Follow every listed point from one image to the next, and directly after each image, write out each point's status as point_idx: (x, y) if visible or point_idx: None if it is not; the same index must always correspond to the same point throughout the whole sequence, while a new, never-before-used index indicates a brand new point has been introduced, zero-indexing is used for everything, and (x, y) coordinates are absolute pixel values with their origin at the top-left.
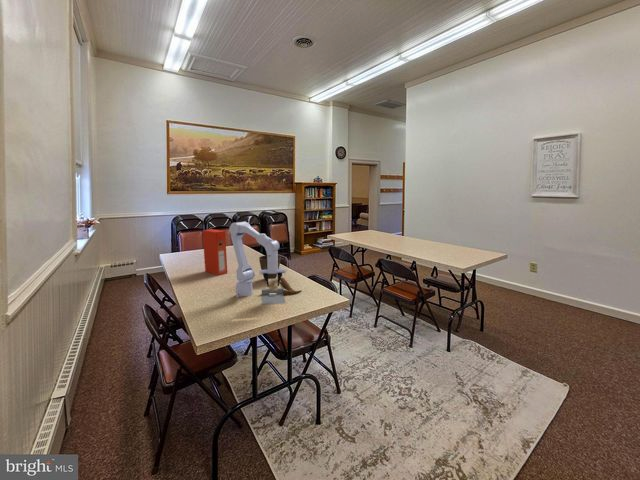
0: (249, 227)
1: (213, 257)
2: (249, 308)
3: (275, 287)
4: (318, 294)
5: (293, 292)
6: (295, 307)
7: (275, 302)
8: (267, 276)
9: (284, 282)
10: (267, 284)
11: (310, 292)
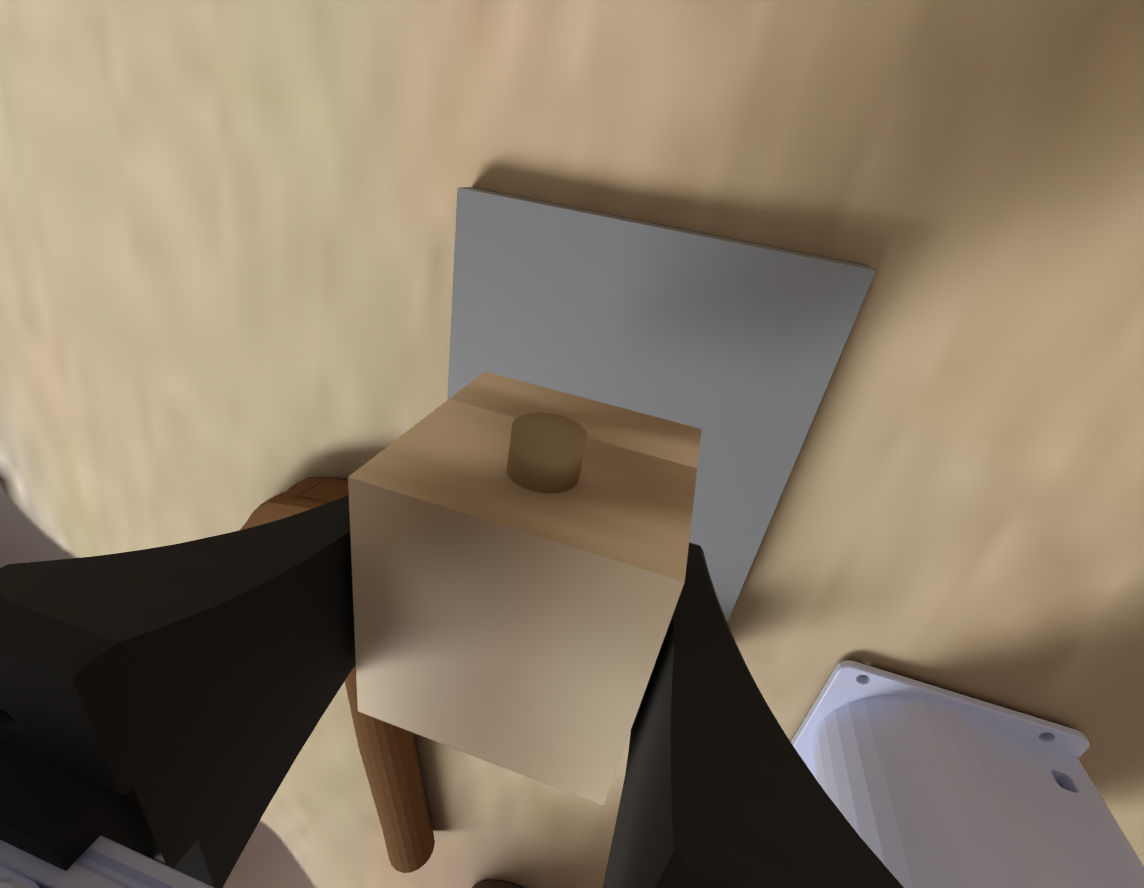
0: None
1: None
2: (1140, 256)
3: (510, 409)
4: (86, 399)
5: (312, 499)
6: (336, 9)
7: (609, 289)
8: (708, 850)
9: (391, 779)
10: (699, 580)
11: (171, 489)
